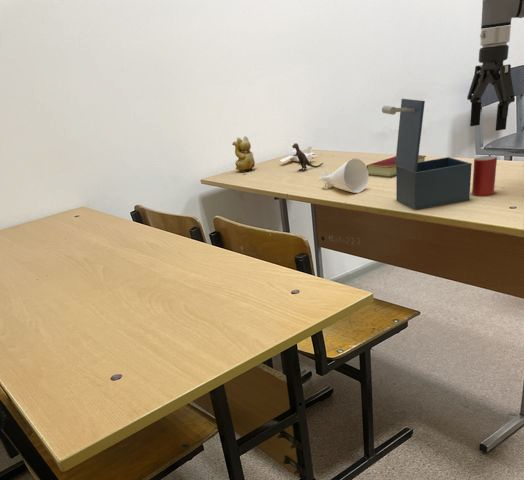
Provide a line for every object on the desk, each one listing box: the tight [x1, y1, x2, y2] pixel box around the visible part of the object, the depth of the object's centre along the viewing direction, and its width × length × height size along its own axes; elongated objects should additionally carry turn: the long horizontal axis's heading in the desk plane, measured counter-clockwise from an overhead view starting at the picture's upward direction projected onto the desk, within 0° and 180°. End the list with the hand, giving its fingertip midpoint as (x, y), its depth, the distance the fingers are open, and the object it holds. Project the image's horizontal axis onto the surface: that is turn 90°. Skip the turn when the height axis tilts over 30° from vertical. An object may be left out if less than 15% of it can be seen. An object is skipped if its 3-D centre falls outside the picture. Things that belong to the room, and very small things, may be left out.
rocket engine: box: [318, 157, 370, 194], centre depth 192 cm, size 12×12×18 cm
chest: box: [395, 156, 473, 211], centre depth 163 cm, size 18×14×11 cm
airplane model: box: [278, 146, 317, 163], centre depth 248 cm, size 20×20×8 cm
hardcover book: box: [366, 154, 427, 179], centre depth 208 cm, size 12×21×4 cm, turn 127°
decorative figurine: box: [231, 135, 256, 173], centre depth 245 cm, size 10×8×15 cm
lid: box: [381, 98, 426, 171], centre depth 155 cm, size 19×14×8 cm
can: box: [471, 155, 498, 197], centre depth 163 cm, size 6×6×11 cm
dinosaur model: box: [291, 143, 324, 172], centre depth 231 cm, size 4×12×15 cm
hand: (487, 127), depth 156 cm, fingers open, 13 cm apart
